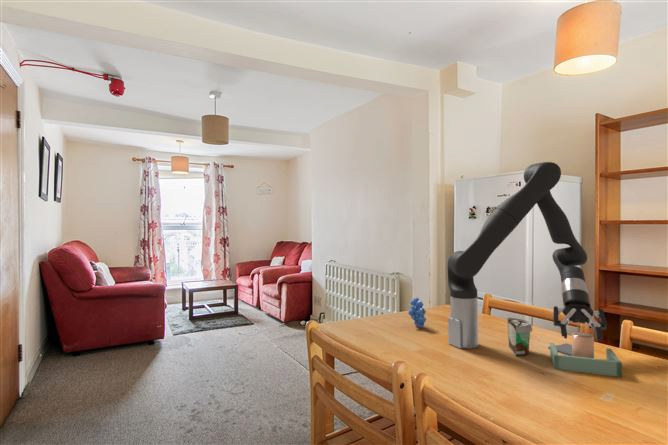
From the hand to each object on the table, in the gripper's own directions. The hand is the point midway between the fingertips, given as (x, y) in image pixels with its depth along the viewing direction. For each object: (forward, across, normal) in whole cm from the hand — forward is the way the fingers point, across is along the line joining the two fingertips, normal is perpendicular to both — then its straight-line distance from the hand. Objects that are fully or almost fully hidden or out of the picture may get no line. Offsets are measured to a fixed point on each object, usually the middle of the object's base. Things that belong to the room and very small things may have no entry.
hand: (581, 338), depth 118 cm
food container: (+3, -17, +8) cm, 19 cm away
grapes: (-10, -56, +20) cm, 60 cm away
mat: (-2, -2, +13) cm, 13 cm away
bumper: (+7, 0, +4) cm, 8 cm away
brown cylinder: (+7, 0, +4) cm, 8 cm away
